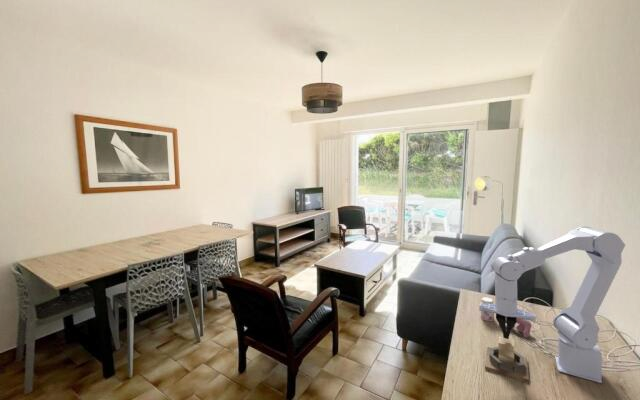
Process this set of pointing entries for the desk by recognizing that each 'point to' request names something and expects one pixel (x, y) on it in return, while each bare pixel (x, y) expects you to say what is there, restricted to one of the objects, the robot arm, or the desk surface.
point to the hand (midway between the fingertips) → (506, 336)
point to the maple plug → (506, 350)
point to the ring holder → (507, 365)
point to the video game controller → (522, 326)
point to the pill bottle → (485, 315)
